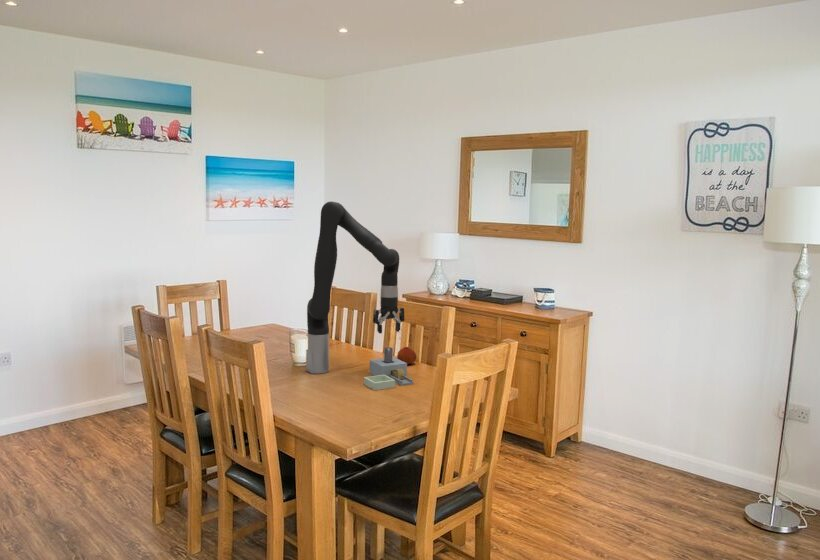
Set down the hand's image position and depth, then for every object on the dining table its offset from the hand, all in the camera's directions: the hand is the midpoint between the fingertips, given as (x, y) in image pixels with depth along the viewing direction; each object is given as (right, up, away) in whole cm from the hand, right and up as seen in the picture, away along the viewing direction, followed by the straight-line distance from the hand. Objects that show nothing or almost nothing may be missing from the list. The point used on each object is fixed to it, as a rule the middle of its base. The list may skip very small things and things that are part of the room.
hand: (388, 332), depth 281 cm
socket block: (+2, -20, -2) cm, 20 cm away
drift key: (+3, -19, -4) cm, 19 cm away
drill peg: (0, -19, +2) cm, 19 cm away
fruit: (+8, -17, +22) cm, 29 cm away
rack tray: (-3, -21, -14) cm, 26 cm away
